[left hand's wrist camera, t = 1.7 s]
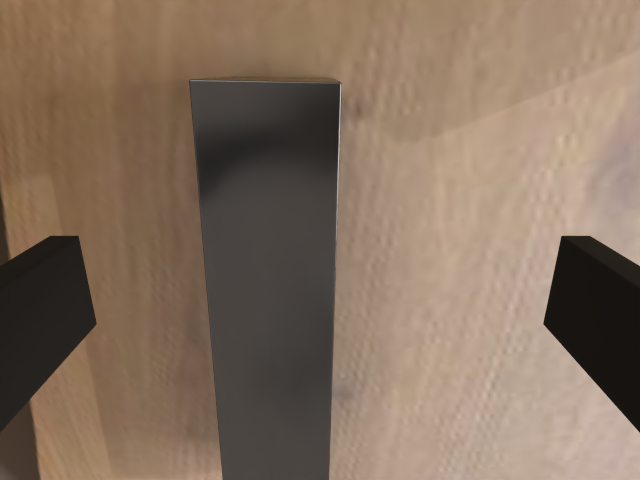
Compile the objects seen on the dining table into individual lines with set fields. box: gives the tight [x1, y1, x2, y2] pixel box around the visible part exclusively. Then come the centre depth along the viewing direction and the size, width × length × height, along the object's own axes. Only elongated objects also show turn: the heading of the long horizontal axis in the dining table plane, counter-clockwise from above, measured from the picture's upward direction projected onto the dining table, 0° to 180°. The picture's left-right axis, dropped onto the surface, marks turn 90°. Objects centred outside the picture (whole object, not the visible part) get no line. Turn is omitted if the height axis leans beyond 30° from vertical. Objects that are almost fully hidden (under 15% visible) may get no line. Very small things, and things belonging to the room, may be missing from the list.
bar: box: [189, 77, 342, 480], centre depth 24 cm, size 26×6×8 cm, turn 179°
